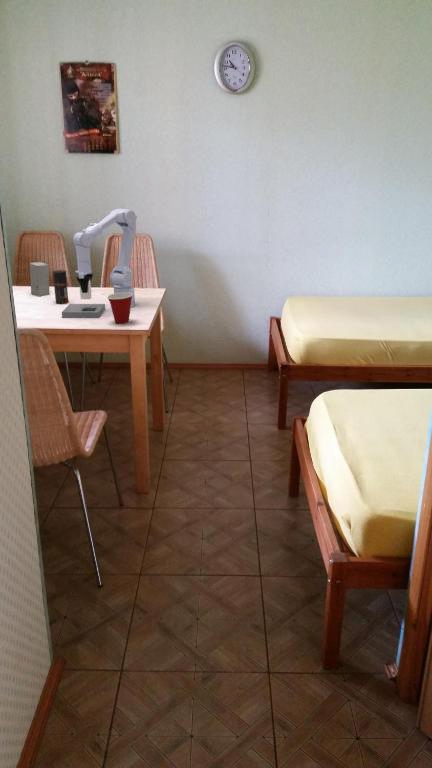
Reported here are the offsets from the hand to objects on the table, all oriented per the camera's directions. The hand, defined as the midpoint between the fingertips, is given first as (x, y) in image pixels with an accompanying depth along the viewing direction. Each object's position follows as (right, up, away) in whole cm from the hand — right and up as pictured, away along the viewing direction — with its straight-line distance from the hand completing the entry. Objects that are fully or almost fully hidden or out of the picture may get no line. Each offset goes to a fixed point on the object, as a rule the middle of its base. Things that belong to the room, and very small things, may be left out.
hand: (86, 291), depth 274 cm
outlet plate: (-2, -9, +4) cm, 10 cm away
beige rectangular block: (0, -3, +1) cm, 3 cm away
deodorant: (-16, -2, +24) cm, 29 cm away
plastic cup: (+17, -15, -10) cm, 25 cm away
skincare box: (-31, +4, +41) cm, 51 cm away
